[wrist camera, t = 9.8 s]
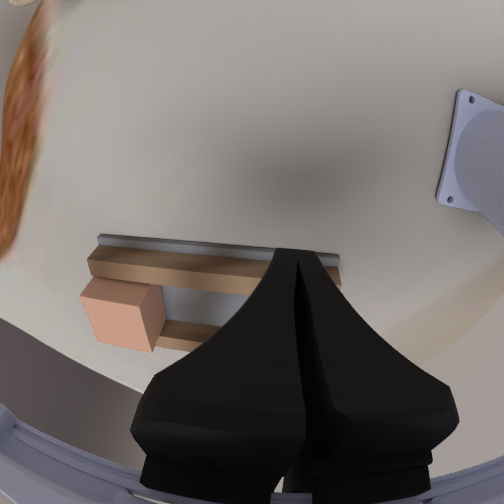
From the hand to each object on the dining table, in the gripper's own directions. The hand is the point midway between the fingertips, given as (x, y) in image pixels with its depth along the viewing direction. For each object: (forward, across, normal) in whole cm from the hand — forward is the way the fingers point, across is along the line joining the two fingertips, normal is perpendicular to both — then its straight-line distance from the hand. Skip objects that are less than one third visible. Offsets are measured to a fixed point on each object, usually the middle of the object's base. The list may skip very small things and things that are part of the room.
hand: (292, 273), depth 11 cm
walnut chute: (+9, +5, +10) cm, 15 cm away
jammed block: (+9, +12, +10) cm, 18 cm away
